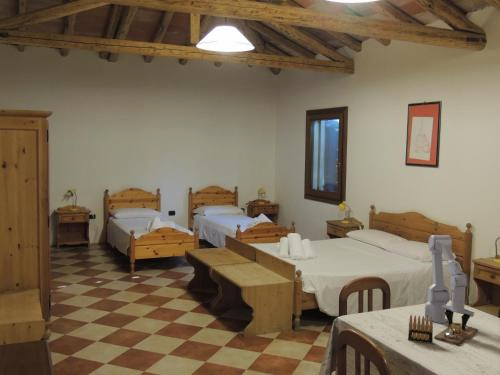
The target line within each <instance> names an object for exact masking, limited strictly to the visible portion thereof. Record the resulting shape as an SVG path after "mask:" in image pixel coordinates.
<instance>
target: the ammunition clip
mask: <svg viewBox="0 0 500 375" xmlns="http://www.w3.org/2000/svg"><path fill="white" fill-rule="evenodd" d="M424 318H425V315H423V316H422V318H421V315H418V317H417V315H414V316H412V314H410V316H409V322H408V335H407V336H408V337H407V341H411V342H419V343H426V344H433V343H434V342H433V340H434V339H433V334H434V322H433V320H432V317H431V318H430V321H429V320H428V316H427V318H426V320H425V319H424Z"/></svg>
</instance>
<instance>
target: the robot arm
mask: <svg viewBox="0 0 500 375" xmlns="http://www.w3.org/2000/svg"><path fill="white" fill-rule="evenodd" d="M452 247H453V239H452V237H451V235H449V234H438V235H437V234H431V235H430V236H429V238H428V251H430V252H431V262H432V263H431V264H432V282H433V283H432V284H431V285H429V287H427V294H426V298H427V302H425V306H424V320H425V321H426V318H427V316H428V320H429V322H430V318H431V317H432V320H433V323H438V324H441V325H442V324H445V323H446V322H447V321H448V328H449V327H450V324H452V322H454V321H453V318H454V313H456V314H461V316H460V317H461V322H462V330H464V329H465V327H466V325H467V323H468V322H469V320H470V318H473V317H474V316H475V312H474V311H472V310H469V309H466V308H465V301H466V299H465V298H466V288H467V287H468V286H469V278H468V275H467V274H466V273H465V272H463V270H462V267H461V266H460V263H459V262H458V260H457V261H456V259H455V256H454V253H453V249H452ZM443 257H444V258H445V260H446V262H447V263H446V265H445V266H446V268H447V271H448V275H449V278H450V279H449V283H450V289H451V295H450V291H449V287H447V286H446V285H445V284H444V269H443V268H444V267H443V266H444V264H443ZM450 300H451V303H450V304H451V305H448V303H449V302H450Z"/></svg>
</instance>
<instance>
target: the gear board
mask: <svg viewBox="0 0 500 375" xmlns="http://www.w3.org/2000/svg"><path fill="white" fill-rule="evenodd" d="M449 330H450V327H449V326H448V327H447V328H446V329H443V330H442V331H440V332H439V333H437V334H436V335H434V339H433V340H437V341H440V342H444V343H447V344H451V345H455V346H460V345H461V344H462V343H464V342H466V341H467V340H468V339H470V338H471V337H472V336H474V335H475V334H477V333H478V332H479V329H478V328H475V327H472V326H469V330H467V331H464V332H463V331H462V333H456V334H458V337H457V338H456V339H450V338H449V339H448V338H447V337H445V336H444V333H445V332H446V331H448V332H449ZM452 332H453V331H452Z"/></svg>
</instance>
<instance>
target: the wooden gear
mask: <svg viewBox="0 0 500 375" xmlns="http://www.w3.org/2000/svg"><path fill="white" fill-rule="evenodd" d="M450 329H452V331H455V332H457V333H462V331H463V332H464V330H462V324H461V322H454V321H453V322H452V324H450Z"/></svg>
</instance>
